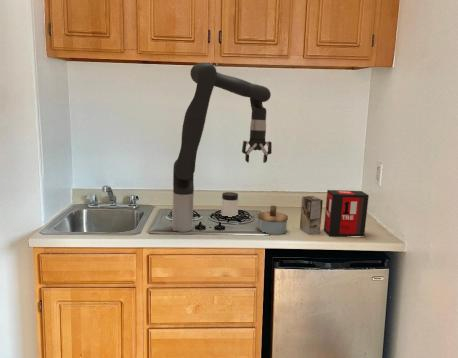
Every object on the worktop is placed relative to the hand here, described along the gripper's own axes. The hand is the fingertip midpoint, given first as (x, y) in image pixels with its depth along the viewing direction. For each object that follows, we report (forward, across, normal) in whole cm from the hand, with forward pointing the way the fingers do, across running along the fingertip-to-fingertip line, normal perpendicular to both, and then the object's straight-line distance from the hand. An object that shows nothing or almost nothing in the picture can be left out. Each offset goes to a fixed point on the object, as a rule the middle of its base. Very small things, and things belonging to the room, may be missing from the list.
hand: (256, 162), depth 208 cm
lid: (+24, +6, -14) cm, 28 cm away
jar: (+30, -10, +10) cm, 33 cm away
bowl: (+30, +6, -14) cm, 34 cm away
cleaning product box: (+30, +39, -21) cm, 54 cm away
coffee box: (+30, +24, -16) cm, 42 cm away
